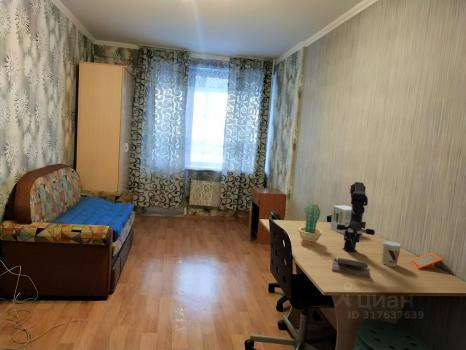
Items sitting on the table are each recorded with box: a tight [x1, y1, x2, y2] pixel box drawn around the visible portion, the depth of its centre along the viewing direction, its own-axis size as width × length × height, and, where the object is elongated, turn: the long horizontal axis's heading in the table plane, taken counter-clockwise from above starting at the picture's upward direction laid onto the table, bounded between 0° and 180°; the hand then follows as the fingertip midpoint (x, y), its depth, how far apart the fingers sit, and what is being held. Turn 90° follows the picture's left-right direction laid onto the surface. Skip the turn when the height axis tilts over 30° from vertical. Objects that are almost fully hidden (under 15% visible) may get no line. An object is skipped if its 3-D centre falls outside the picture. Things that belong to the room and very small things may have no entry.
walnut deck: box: [331, 257, 370, 279], centre depth 192 cm, size 14×18×2 cm
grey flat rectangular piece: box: [336, 257, 367, 267], centre depth 192 cm, size 12×14×2 cm
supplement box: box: [330, 204, 352, 235], centre depth 266 cm, size 13×13×18 cm
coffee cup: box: [381, 240, 402, 267], centre depth 205 cm, size 9×9×12 cm
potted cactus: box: [297, 202, 323, 246], centre depth 231 cm, size 15×15×25 cm
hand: (353, 246), depth 190 cm, fingers closed
